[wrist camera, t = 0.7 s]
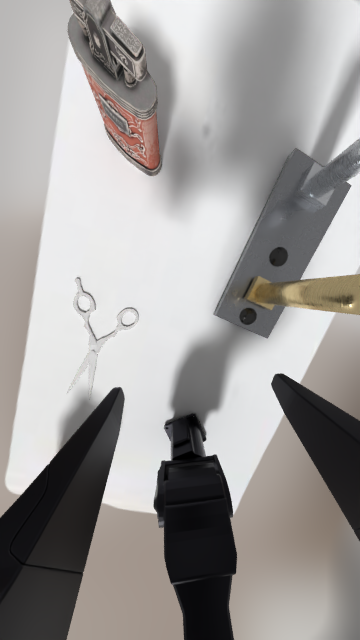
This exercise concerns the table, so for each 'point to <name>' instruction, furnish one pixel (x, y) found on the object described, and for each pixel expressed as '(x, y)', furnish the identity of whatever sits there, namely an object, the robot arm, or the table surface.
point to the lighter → (118, 81)
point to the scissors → (93, 344)
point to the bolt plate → (288, 233)
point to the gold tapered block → (309, 293)
